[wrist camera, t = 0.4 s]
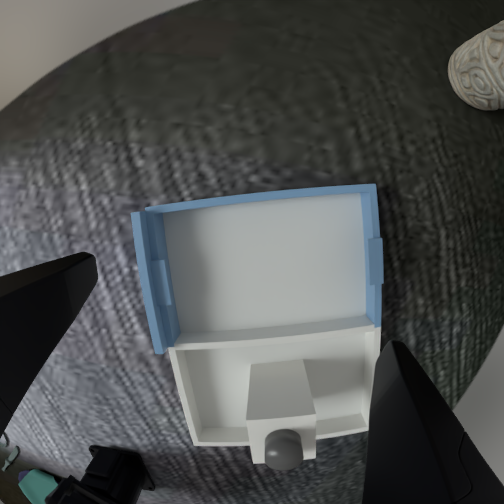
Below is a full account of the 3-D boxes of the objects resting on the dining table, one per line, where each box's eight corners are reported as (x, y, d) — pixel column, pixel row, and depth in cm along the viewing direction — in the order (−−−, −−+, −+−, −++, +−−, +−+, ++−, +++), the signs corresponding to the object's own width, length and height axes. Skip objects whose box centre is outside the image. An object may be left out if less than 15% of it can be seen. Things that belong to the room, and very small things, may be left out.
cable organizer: (364, 413, 24) (375, 437, 20) (192, 428, 24) (184, 453, 21) (364, 185, 21) (381, 182, 17) (149, 208, 22) (130, 209, 18)
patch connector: (304, 400, 23) (318, 475, 14) (256, 404, 23) (252, 481, 15) (303, 359, 22) (320, 431, 14) (250, 364, 23) (244, 438, 14)
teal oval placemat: (99, 542, 31) (95, 550, 29) (-23, 439, 29) (-29, 444, 27) (148, 529, 29) (144, 540, 26) (-10, 396, 27) (-19, 403, 25)
